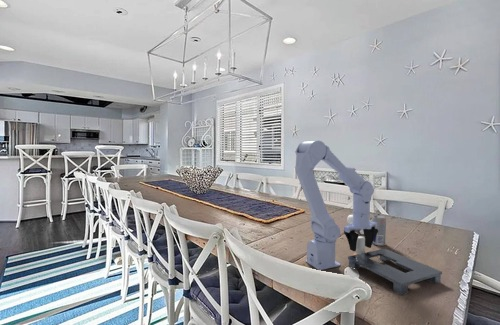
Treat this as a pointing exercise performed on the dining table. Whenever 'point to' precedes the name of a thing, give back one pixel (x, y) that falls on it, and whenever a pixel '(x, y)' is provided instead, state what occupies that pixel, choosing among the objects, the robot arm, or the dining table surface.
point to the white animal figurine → (350, 220)
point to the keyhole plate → (395, 275)
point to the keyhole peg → (360, 245)
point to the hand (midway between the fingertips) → (360, 248)
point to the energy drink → (380, 230)
